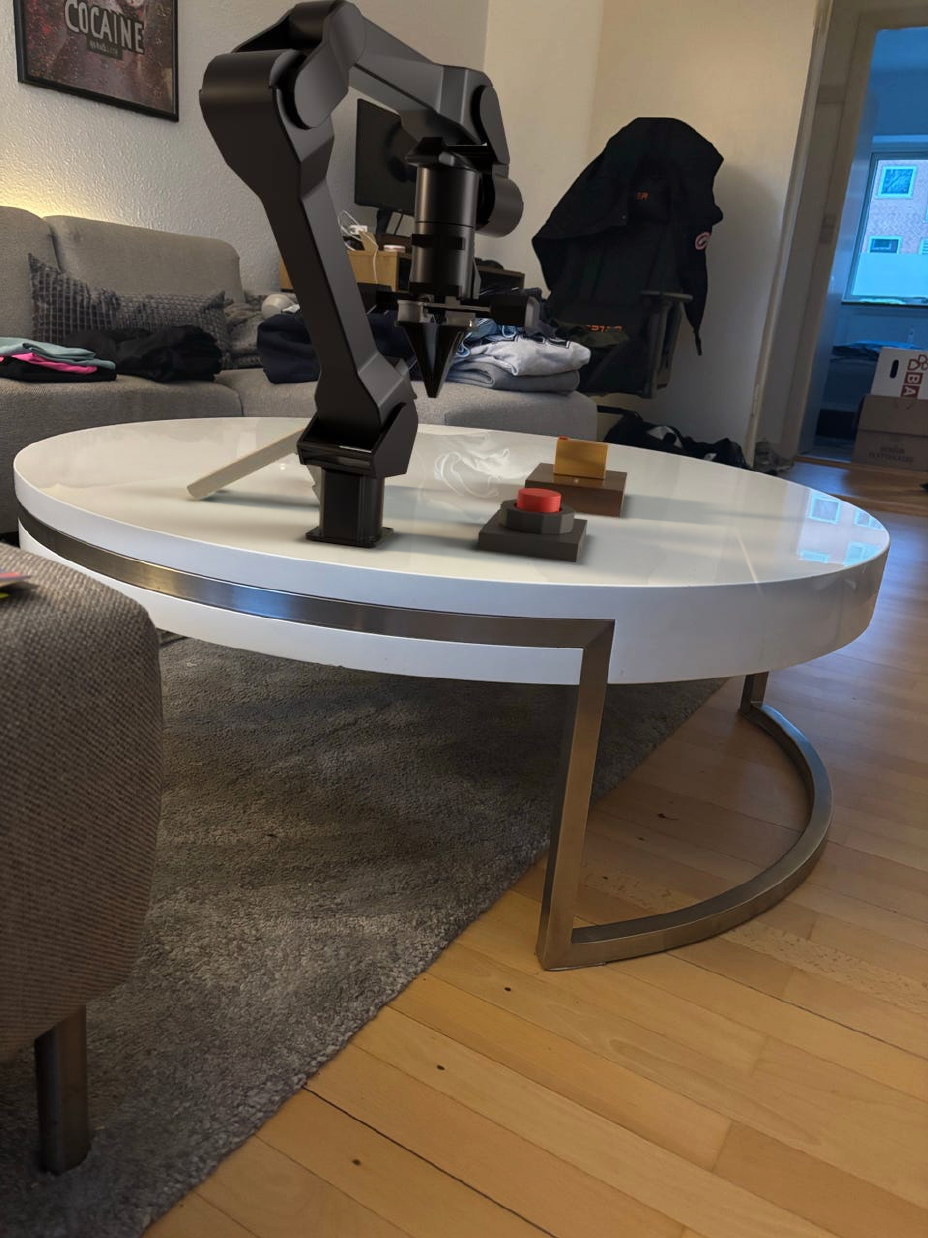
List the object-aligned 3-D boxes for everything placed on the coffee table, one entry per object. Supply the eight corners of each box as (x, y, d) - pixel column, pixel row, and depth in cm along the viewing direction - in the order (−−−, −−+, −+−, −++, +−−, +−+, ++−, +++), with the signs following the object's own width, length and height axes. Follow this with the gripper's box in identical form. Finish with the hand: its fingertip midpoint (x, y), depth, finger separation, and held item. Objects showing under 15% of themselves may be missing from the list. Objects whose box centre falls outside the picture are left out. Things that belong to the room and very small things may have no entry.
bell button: (556, 517, 84) (558, 498, 83) (513, 512, 85) (515, 493, 84) (560, 509, 88) (562, 491, 87) (519, 504, 88) (521, 486, 88)
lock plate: (620, 517, 102) (623, 489, 101) (522, 505, 104) (525, 478, 103) (624, 496, 115) (627, 470, 114) (537, 485, 117) (540, 461, 116)
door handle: (225, 557, 94) (397, 475, 90) (185, 486, 92) (360, 400, 88) (269, 517, 111) (416, 447, 107) (236, 456, 108) (385, 382, 105)
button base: (576, 562, 81) (581, 524, 80) (477, 549, 83) (480, 511, 82) (585, 536, 92) (589, 501, 90) (497, 525, 93) (500, 491, 92)
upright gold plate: (604, 477, 108) (609, 441, 107) (604, 479, 107) (608, 442, 106) (554, 471, 109) (558, 435, 108) (553, 473, 108) (557, 437, 107)
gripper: (553, 241, 91) (536, 401, 96) (373, 227, 94) (366, 383, 99) (540, 229, 81) (522, 410, 86) (338, 215, 84) (332, 390, 89)
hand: (432, 397), depth 90 cm, fingers closed
